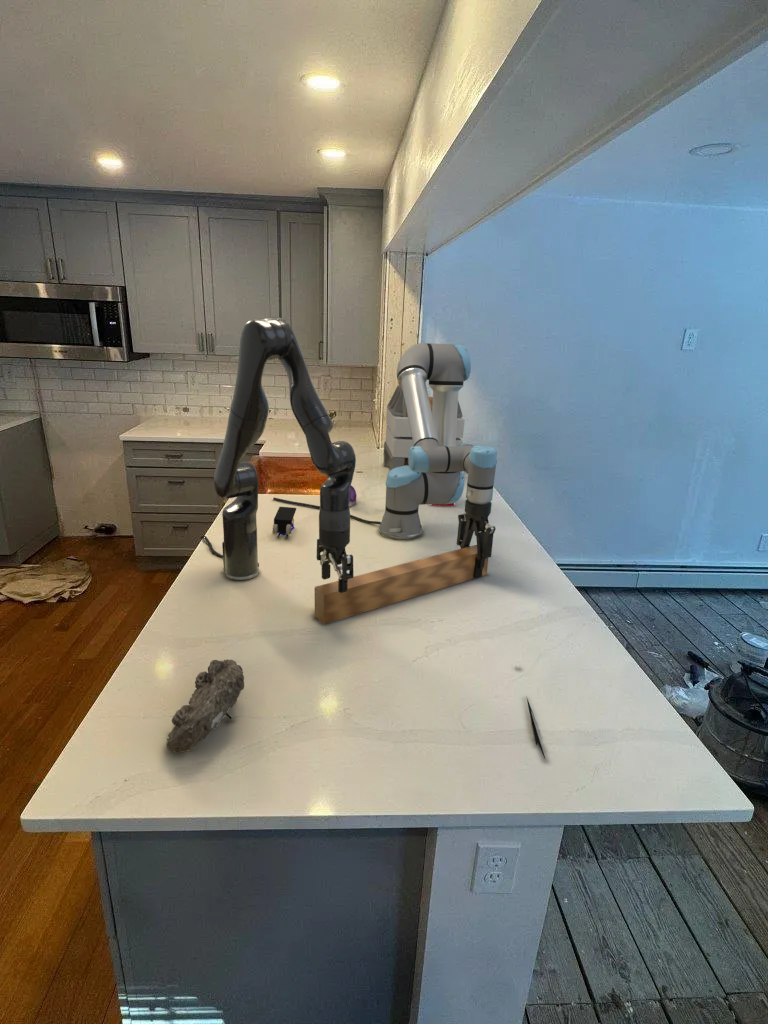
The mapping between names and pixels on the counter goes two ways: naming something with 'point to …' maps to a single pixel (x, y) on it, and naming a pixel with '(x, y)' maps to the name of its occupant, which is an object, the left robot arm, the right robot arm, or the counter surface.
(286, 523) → the figurine character
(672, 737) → the counter surface
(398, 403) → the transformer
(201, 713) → the fossil
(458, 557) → the beam
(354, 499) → the figurine
